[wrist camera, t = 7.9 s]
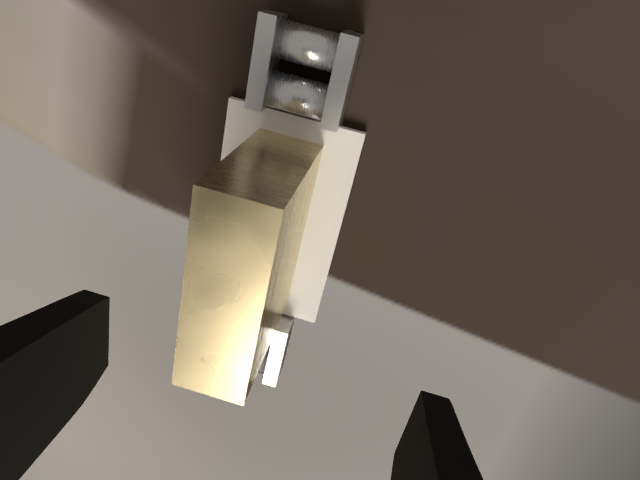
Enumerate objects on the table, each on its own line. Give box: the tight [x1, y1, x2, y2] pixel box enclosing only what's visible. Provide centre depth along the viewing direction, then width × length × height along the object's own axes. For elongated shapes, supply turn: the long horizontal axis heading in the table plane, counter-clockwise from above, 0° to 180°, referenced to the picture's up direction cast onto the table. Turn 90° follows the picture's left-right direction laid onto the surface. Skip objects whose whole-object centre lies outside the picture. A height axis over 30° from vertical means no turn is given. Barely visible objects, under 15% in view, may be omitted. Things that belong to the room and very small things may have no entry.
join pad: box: [221, 96, 366, 323], centre depth 20 cm, size 5×8×1 cm, turn 167°
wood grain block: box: [172, 128, 324, 406], centre depth 17 cm, size 2×7×6 cm, turn 167°
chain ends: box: [244, 10, 364, 387], centre depth 19 cm, size 3×15×1 cm, turn 168°
